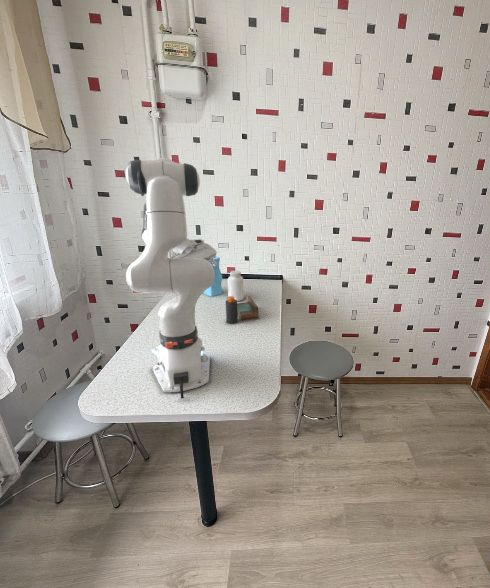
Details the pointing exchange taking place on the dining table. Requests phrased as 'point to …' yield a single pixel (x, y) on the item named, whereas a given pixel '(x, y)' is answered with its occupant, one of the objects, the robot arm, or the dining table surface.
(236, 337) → the dining table surface
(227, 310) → the bottle
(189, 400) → the dining table surface
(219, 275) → the vase
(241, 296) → the pill bottle
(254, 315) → the brown tray
